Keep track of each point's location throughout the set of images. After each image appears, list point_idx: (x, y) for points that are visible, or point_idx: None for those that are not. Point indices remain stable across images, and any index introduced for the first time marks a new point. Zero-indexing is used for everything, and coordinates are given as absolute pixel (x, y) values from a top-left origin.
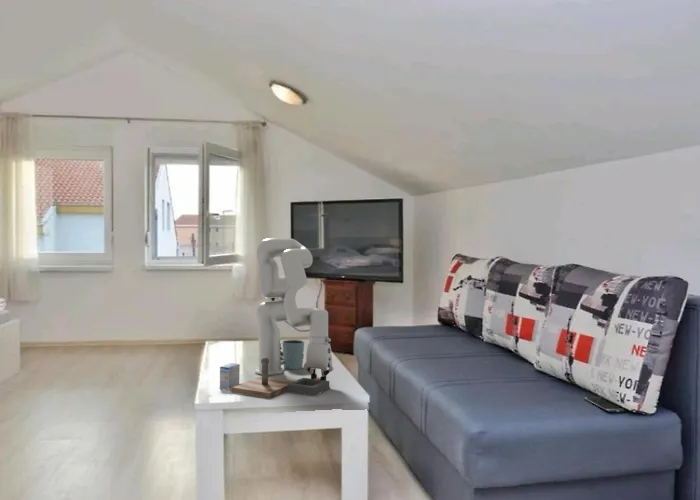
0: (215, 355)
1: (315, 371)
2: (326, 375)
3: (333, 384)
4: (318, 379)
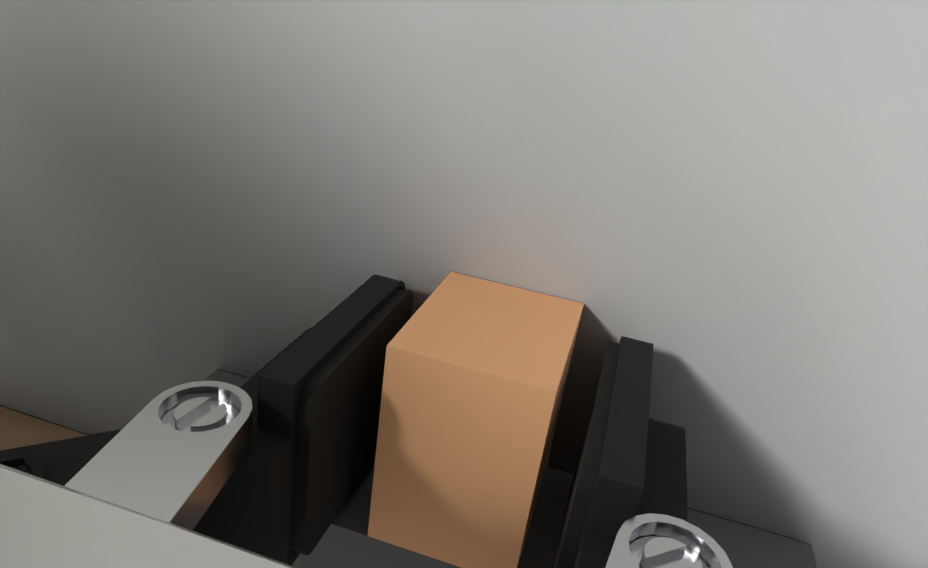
0: None
1: (225, 459)
2: (695, 562)
3: (842, 155)
4: (492, 565)
